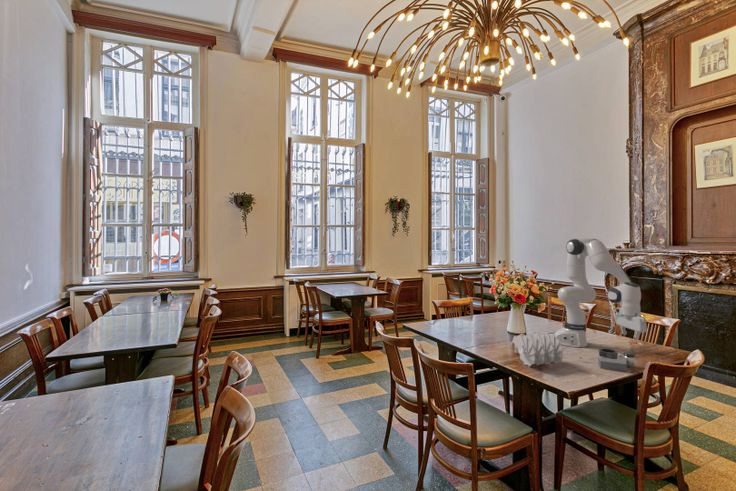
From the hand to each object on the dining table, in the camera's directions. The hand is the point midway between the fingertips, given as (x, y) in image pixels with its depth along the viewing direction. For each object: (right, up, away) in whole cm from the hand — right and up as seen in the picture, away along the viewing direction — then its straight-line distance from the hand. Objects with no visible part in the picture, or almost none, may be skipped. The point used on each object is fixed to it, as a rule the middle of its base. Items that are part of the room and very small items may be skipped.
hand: (630, 336), depth 213 cm
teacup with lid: (-52, -16, +24) cm, 60 cm away
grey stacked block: (-11, -17, -1) cm, 20 cm away
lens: (0, -17, +1) cm, 17 cm away
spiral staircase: (-49, -17, +4) cm, 52 cm away
